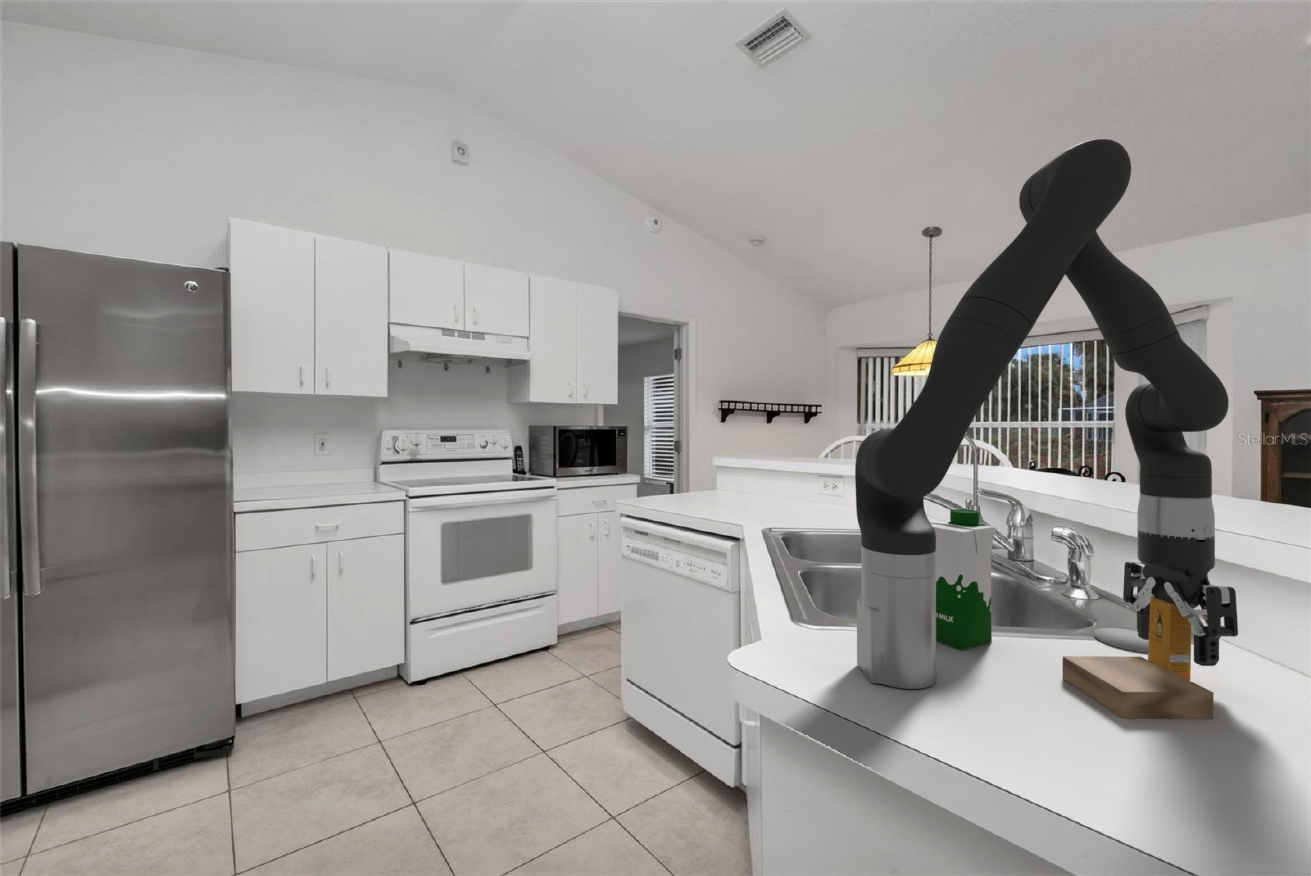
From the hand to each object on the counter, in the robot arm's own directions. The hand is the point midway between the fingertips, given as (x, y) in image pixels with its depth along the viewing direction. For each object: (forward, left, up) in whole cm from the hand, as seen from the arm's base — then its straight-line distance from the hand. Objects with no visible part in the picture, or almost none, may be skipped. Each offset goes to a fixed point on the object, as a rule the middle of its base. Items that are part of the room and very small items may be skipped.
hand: (1175, 651), depth 75 cm
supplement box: (-1, 0, -4) cm, 4 cm away
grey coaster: (+4, +12, -3) cm, 13 cm away
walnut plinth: (-10, -6, -3) cm, 12 cm away
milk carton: (-22, +13, -4) cm, 26 cm away
